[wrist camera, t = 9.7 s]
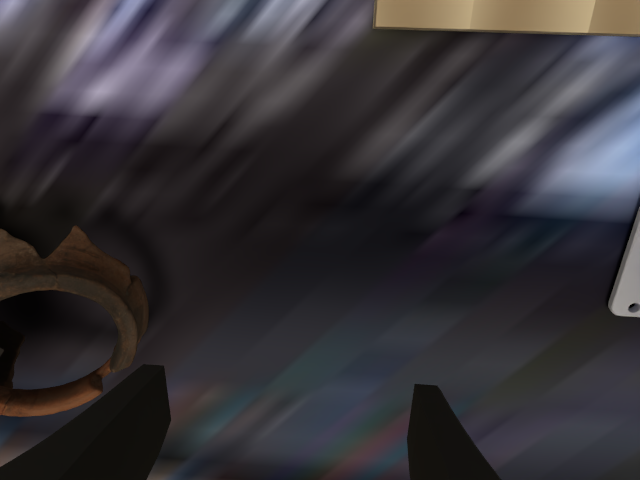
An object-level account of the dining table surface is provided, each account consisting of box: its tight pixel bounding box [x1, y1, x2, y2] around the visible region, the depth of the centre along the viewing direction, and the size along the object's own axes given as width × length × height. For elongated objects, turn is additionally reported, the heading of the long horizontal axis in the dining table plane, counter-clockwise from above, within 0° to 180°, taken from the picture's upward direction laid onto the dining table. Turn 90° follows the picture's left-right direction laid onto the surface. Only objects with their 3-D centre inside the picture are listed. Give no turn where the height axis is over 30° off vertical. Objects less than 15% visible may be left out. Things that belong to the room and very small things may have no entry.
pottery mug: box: [0, 225, 149, 417], centre depth 22 cm, size 12×10×8 cm
